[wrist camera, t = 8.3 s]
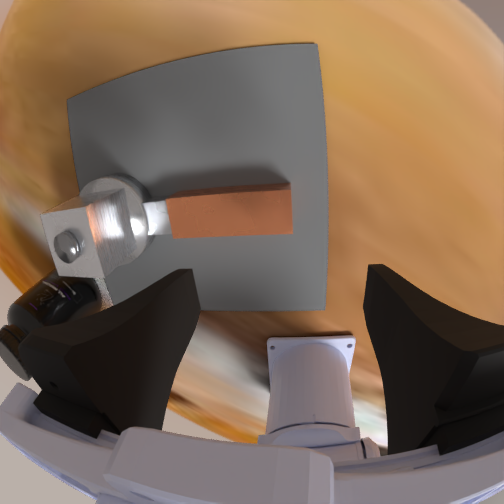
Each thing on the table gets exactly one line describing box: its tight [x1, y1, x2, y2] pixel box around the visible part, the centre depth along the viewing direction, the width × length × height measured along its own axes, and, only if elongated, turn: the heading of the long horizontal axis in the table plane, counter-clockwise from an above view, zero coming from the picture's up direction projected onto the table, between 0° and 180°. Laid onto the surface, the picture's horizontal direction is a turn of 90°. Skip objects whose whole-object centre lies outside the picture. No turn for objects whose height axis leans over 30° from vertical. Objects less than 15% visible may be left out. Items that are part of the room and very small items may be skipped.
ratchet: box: [79, 173, 293, 265], centre depth 18 cm, size 7×17×4 cm, turn 95°
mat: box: [67, 44, 328, 311], centre depth 20 cm, size 20×20×1 cm
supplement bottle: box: [0, 268, 102, 381], centre depth 20 cm, size 7×7×12 cm
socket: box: [40, 188, 137, 278], centre depth 17 cm, size 5×5×5 cm
